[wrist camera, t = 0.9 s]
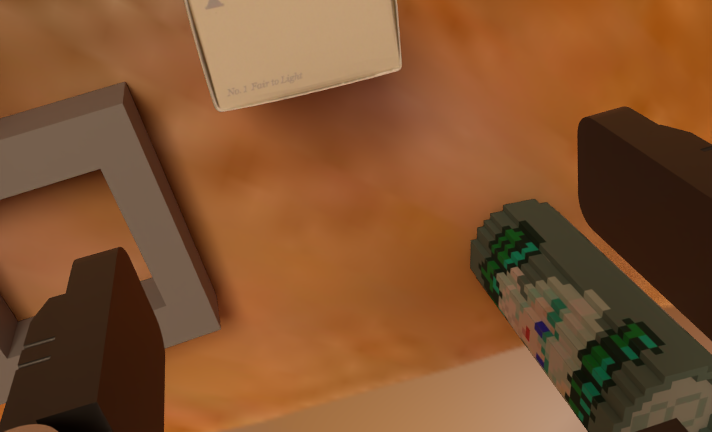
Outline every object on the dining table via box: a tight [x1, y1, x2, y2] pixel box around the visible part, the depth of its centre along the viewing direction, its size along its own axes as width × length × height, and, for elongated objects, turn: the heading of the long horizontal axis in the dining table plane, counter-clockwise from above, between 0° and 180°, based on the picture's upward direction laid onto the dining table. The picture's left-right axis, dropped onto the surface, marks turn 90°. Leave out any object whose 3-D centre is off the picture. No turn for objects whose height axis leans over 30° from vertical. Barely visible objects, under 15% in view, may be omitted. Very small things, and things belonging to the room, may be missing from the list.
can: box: [470, 199, 712, 432], centre depth 35 cm, size 6×6×15 cm
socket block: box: [0, 82, 221, 405], centre depth 32 cm, size 12×13×3 cm
